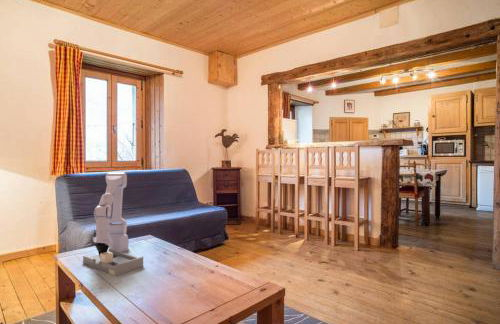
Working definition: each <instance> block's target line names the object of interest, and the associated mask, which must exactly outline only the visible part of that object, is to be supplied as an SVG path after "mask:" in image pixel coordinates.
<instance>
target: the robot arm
mask: <svg viewBox="0 0 500 324" xmlns="http://www.w3.org/2000/svg"><path fill="white" fill-rule="evenodd" d="M105 183H106V188H105V193H103V194H102V195H101V197H100V201H99V203H98V205H97V206H96V207H95V208H94V209H93V210H94V211H93V216H94V221H95V222H96V223H95V235H96V236H94V237H92V242H93V243H95V245H94V246H95V248H96V250H97V253H98V255H99V257H100V254H101V253H104V252H108V251H109V249H113V250H116V251H119V252H122V253H124V252H126V251H129V250H130V248H129V236H128V234H127V231H128V226H127V222H128V221H127V220H126V219H124V218H123V217H122V214H123V195H124V189H125V188H126V187H127V184H128V175H127V173H126V172H109V171H108V172H107V173H106V174H105ZM110 217H111V218H110Z"/></svg>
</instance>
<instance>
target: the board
mask: <svg viewBox="0 0 500 324" xmlns="http://www.w3.org/2000/svg"><path fill="white" fill-rule="evenodd" d="M108 250H109V252H112V253H113V261H112V262H109V263H105V262H103V263H102V262H100V257H99V254H97V255H92V256H89V255H83V256H82V259H83V260H82V262H83V264H84V265H87V266H90V267H93V268H95V269H98V270H100V271H102V272H105V273H107V274H110V275H112V276H114V277H116V276H120V275H123V274H125V273H128V272H131V271H134V270H137V269H140V268H143V267H144V256H140V257H138V256H136V255H132V254H128V253H125V252H119V251H116V250H113V249H109V248H108Z"/></svg>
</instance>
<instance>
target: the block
mask: <svg viewBox="0 0 500 324" xmlns="http://www.w3.org/2000/svg"><path fill="white" fill-rule="evenodd" d="M112 261H113V253H112V252H109V251H108V252H104V253H101V254H100V262H102V263H103V262H105V263H109V262H112Z"/></svg>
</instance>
